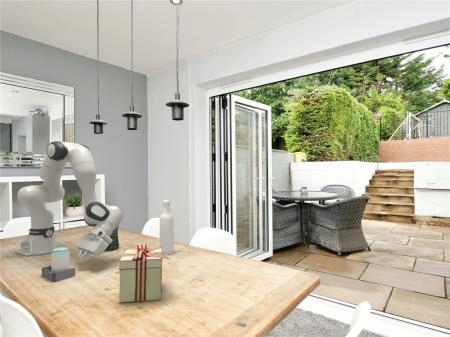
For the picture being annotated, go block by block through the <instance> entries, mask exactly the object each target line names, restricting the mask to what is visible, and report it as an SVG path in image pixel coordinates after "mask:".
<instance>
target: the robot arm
mask: <svg viewBox="0 0 450 337" xmlns="http://www.w3.org/2000/svg"><path fill="white" fill-rule="evenodd" d="M91 153H92V152H90V148H89V147H88V146H87V145H84V144H81V143H76V142H69V141H58V140H57V141H56V140H55V141H51V142H50V143H49V144H47V146H46V155H45V156H44V159H43V161H42V163H41V166H40V169H39V171H38V176H39V178H40V179H41V180H42V181H43V183H42V184H36V185H35V184H34V185H27V186H23V187H20V189H19V190H18V192H17V194H16V195H17V196H16V197H17V200H18V202H19V203H21V205H23V206H24V207H26V209H27V210H28V212H29V216H30V228H29V229H28V230H27V231H28V232H29V233H28V235H27V236H26V237H24V238H23V239H22V240H21V242H20V248H19V249H15V253H17V254H20V255H22V256H25V257H28V256H36V255H45V254H50V253H52V252H53V250H54V249H56V248H59V246H58V245H57V238H56V234H55V226H54V213H53V211H51V210H49V209H47V207H46V204H49V203H51V204H52V203H56V202H59V201H62V200H63V199H64V197H65V195H66V192H65V188H64V187H63V186H62V185H61V178H62V175H63V172H64V170H65V167H66V164H67V163H70V164H71V169H72V173H73V176H74V178H75V180H76V182H77V185H78V186H79V189H80V191H81V194H82V199H83V203H84V207H85V211H84V215H83V216H84V217H83V221H84V223H85V224H86V225H87V226H90V227H93V228H92V229H91V231H90V232H89V233H87V234H84V235H83V236H82V237H81V238H79V240H78V241H77V242H76V243H75V247H76V248H77V249H78V250H80V251H79V255H78V256H77V257H76V258H77V260H79V261H81V262H82V261H84V260H85V258H87V257H89V255H94V256H97V257H100V256H101V255H102V254H103V253H104V252H106V251H105V249H106V248H107V247H108V245H109V244H110V243H111V242H112V239H111V238H110V235H111V234H112V232H113V230H114V229H116V228H117V226H118V225H119V226H120V224H121V222H122V221H123V219H124V212H123V210H122V209H121V208H120V207H119V206H117V205H108V204H104V203H103V202H99V201H98V200H97V195H96V189H95V188H96V182H97V181H96V180H97V170H96V169H97V168H96V164H95V161H94V158H93V155H92V154H91Z"/></svg>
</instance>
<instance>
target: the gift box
mask: <svg viewBox="0 0 450 337" xmlns="http://www.w3.org/2000/svg"><path fill="white" fill-rule="evenodd" d="M161 248H162V247H161ZM163 259H166V260H170V259H171V257H167V255H163V254H162V249H160V247H147V244H146V243H145V244H138V245H136V249H126V250H124V252H123V253H122V256H121V258H120V259H119V261H118V270H119V291H118V292H119V298H118V300H119V301H118V302H119V303H130V302H131V303H132V302H145V301H146V302H147V301H155V300H161V297H162V296H161V294H162V282H163V280H162V279H163V275H162V274H163V272H162V270H163Z"/></svg>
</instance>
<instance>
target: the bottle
mask: <svg viewBox="0 0 450 337" xmlns="http://www.w3.org/2000/svg"><path fill="white" fill-rule="evenodd" d="M170 205H171V202H170V200H169V199H164V200H163V201H162V206H163V207H162V209H163V210H162V211H163V212H162V214H160V216H159V249H162V254H163V255H164V256H169V255H173V254H174V252H175V246H174V244H175V242H174V238H175V237H174V235H175V234H174V224H175V223H174V219H175V218H174V216H173V214H172V213H171V206H170ZM161 247H162V248H161Z"/></svg>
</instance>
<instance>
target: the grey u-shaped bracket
mask: <svg viewBox="0 0 450 337" xmlns="http://www.w3.org/2000/svg"><path fill="white" fill-rule="evenodd" d="M41 277H43V278H45V279H47V280H48V281H50V282H52V283H56V282H59V281H62V280H66V279H70V278H72V277H76V267H71V268H70V269H67V270H63V271H59V272H56V273H55V272H53V271H52V265H48V266H45V267H41Z"/></svg>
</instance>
